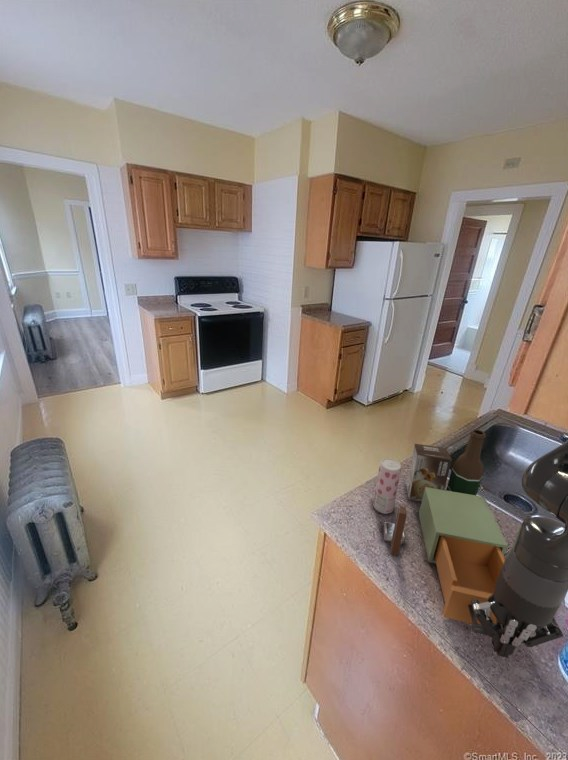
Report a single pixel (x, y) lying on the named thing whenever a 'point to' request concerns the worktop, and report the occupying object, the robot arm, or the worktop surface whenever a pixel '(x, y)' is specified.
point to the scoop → (395, 530)
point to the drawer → (467, 577)
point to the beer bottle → (468, 467)
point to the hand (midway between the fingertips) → (500, 650)
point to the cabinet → (457, 520)
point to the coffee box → (427, 470)
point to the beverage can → (387, 485)
